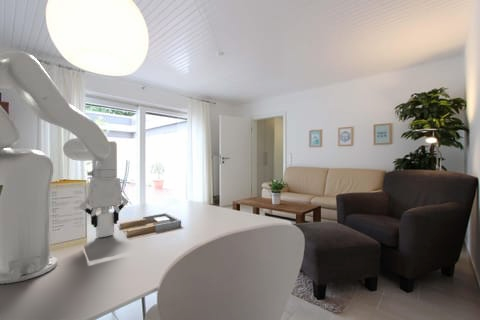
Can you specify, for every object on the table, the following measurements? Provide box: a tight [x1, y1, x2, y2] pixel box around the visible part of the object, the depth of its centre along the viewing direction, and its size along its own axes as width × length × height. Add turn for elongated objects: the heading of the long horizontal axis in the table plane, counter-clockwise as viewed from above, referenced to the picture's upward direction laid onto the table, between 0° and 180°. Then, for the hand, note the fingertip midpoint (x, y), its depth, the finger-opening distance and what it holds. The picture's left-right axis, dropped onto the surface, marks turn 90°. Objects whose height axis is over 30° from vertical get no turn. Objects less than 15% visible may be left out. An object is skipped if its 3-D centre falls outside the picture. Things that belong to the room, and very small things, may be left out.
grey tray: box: [142, 212, 182, 232], centre depth 95 cm, size 16×10×2 cm, turn 40°
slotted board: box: [117, 218, 185, 240], centre depth 92 cm, size 20×20×3 cm
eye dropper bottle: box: [95, 206, 115, 238], centre depth 81 cm, size 4×6×12 cm
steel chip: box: [153, 216, 170, 225], centre depth 95 cm, size 6×5×3 cm
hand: (105, 224), depth 81 cm, fingers closed on eye dropper bottle, 5 cm apart
